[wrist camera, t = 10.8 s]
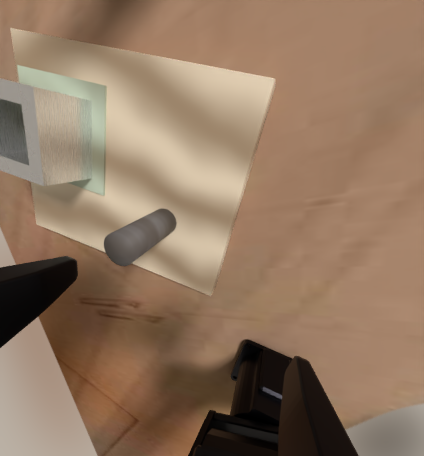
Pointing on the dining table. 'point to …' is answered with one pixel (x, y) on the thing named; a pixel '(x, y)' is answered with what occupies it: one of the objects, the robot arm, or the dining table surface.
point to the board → (151, 154)
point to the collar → (44, 134)
